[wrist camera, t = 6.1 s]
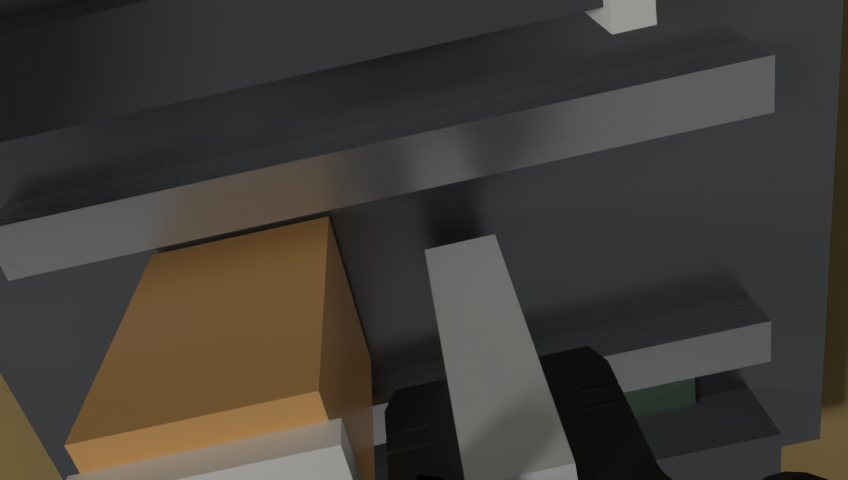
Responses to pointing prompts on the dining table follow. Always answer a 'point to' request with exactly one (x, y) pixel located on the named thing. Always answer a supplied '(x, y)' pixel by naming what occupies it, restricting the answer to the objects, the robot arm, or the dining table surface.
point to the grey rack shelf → (301, 54)
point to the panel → (474, 202)
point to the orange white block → (234, 368)
